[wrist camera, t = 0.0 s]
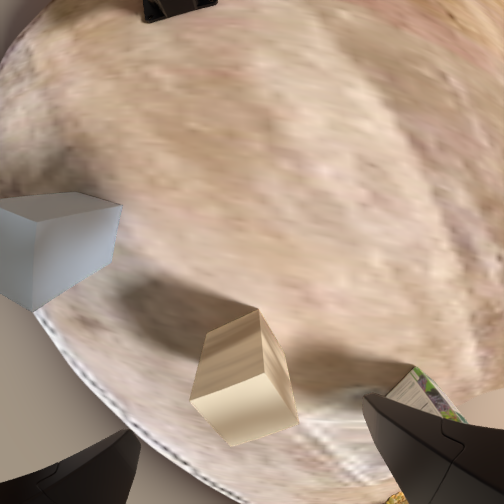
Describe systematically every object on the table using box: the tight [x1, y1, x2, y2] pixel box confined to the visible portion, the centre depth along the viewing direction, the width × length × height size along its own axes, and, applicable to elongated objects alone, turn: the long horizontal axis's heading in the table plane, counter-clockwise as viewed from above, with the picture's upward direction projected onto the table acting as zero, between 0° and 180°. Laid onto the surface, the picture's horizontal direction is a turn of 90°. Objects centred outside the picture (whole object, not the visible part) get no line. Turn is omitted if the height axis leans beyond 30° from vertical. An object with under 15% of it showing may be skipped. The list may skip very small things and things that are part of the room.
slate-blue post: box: [0, 192, 123, 312], centre depth 17 cm, size 5×5×11 cm
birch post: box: [189, 309, 299, 447], centre depth 20 cm, size 5×5×9 cm
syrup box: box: [386, 367, 469, 424], centre depth 19 cm, size 6×6×14 cm
